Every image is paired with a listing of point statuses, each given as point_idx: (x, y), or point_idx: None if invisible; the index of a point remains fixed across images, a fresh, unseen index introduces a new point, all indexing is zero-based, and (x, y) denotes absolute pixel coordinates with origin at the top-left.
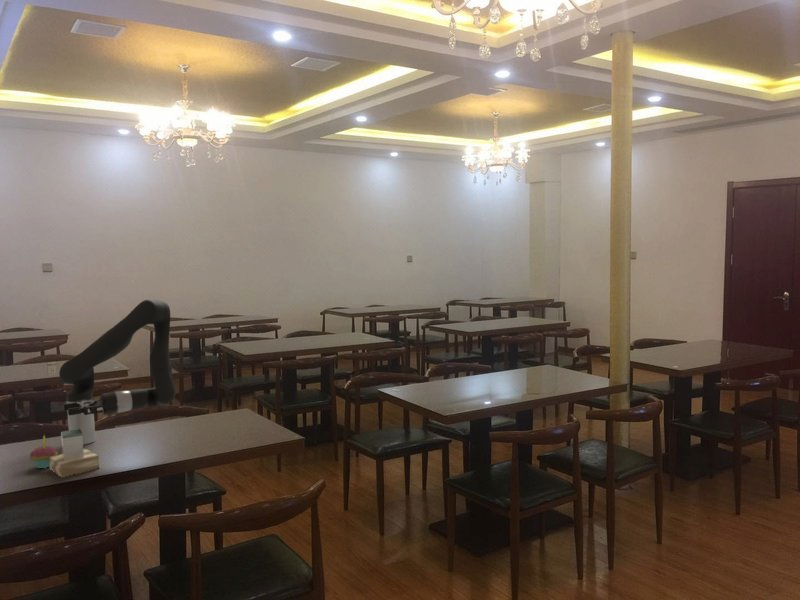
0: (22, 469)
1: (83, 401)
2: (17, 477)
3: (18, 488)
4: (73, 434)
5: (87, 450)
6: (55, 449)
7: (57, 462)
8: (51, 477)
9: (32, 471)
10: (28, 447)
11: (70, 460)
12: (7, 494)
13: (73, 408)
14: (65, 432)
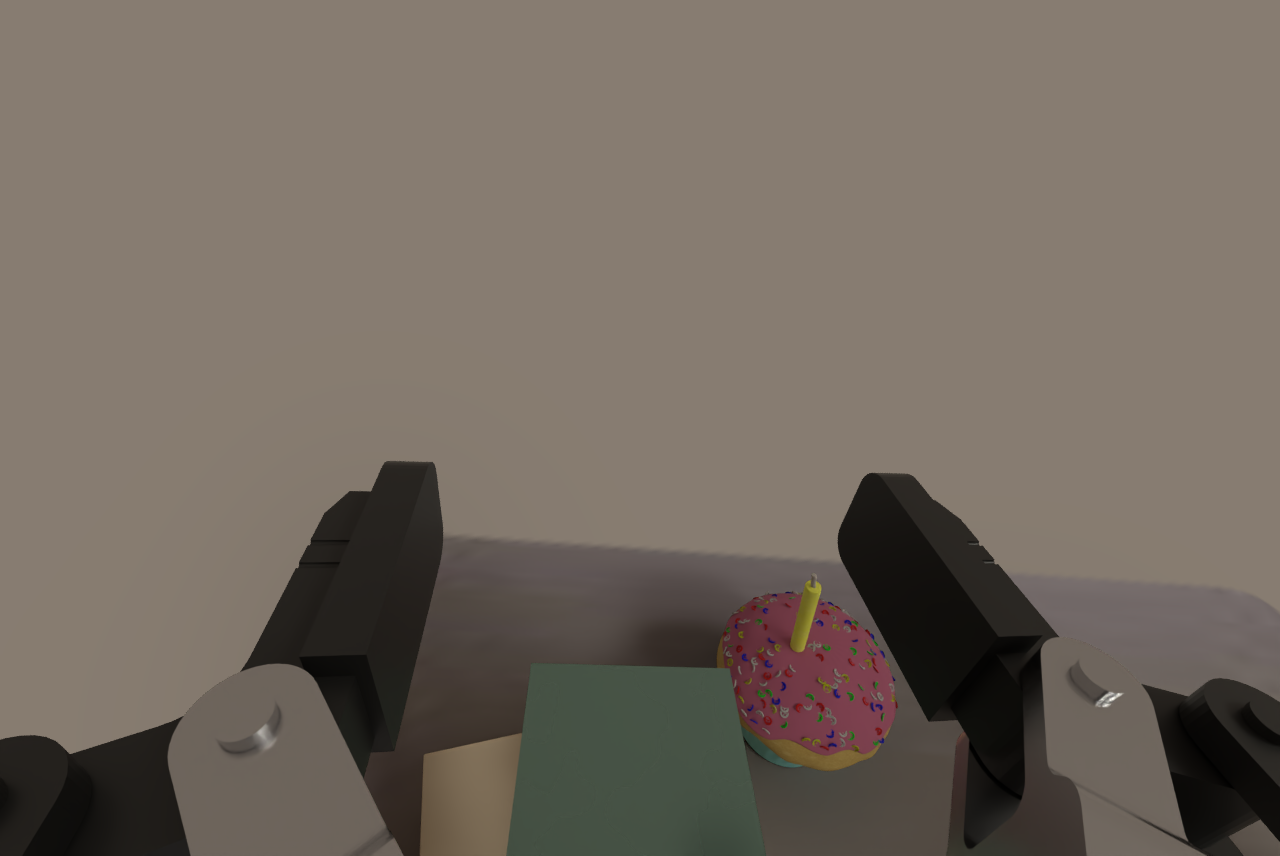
0: None
1: (1072, 852)
2: (641, 584)
3: (446, 574)
4: (514, 791)
5: None
6: (825, 736)
7: (518, 735)
8: (505, 735)
9: (710, 650)
10: (1219, 671)
11: (481, 846)
12: None
13: (358, 523)
14: (670, 708)
